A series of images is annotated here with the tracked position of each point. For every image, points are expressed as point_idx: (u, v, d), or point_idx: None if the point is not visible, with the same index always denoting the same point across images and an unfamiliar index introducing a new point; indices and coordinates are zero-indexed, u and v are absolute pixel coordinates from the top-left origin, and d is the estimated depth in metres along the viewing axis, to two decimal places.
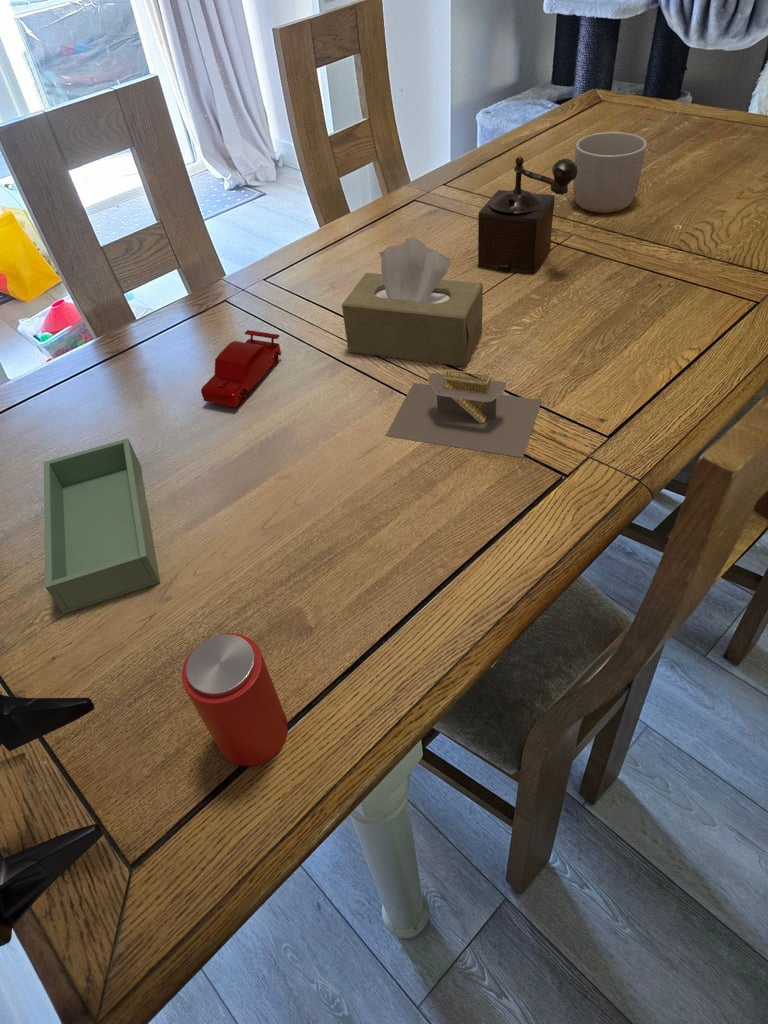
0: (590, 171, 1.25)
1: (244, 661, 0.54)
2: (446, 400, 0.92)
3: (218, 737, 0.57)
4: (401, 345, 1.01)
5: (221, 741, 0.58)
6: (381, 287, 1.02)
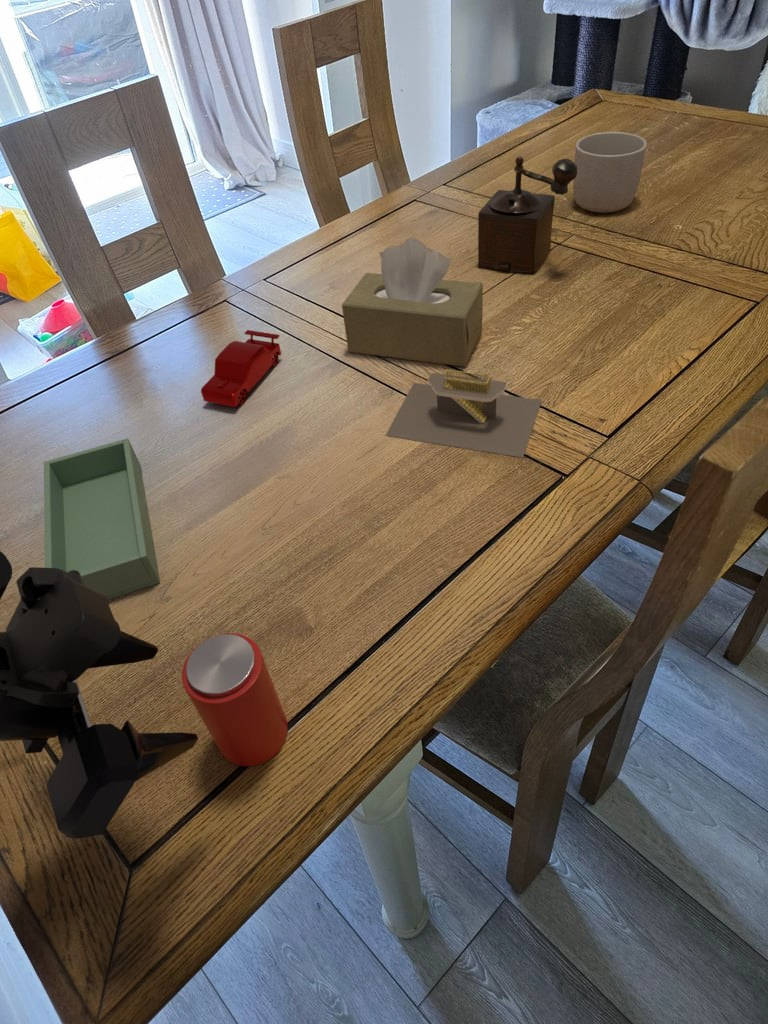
0: (590, 171, 1.25)
1: (244, 661, 0.54)
2: (446, 400, 0.92)
3: (218, 737, 0.57)
4: (401, 345, 1.01)
5: (221, 741, 0.58)
6: (381, 287, 1.02)
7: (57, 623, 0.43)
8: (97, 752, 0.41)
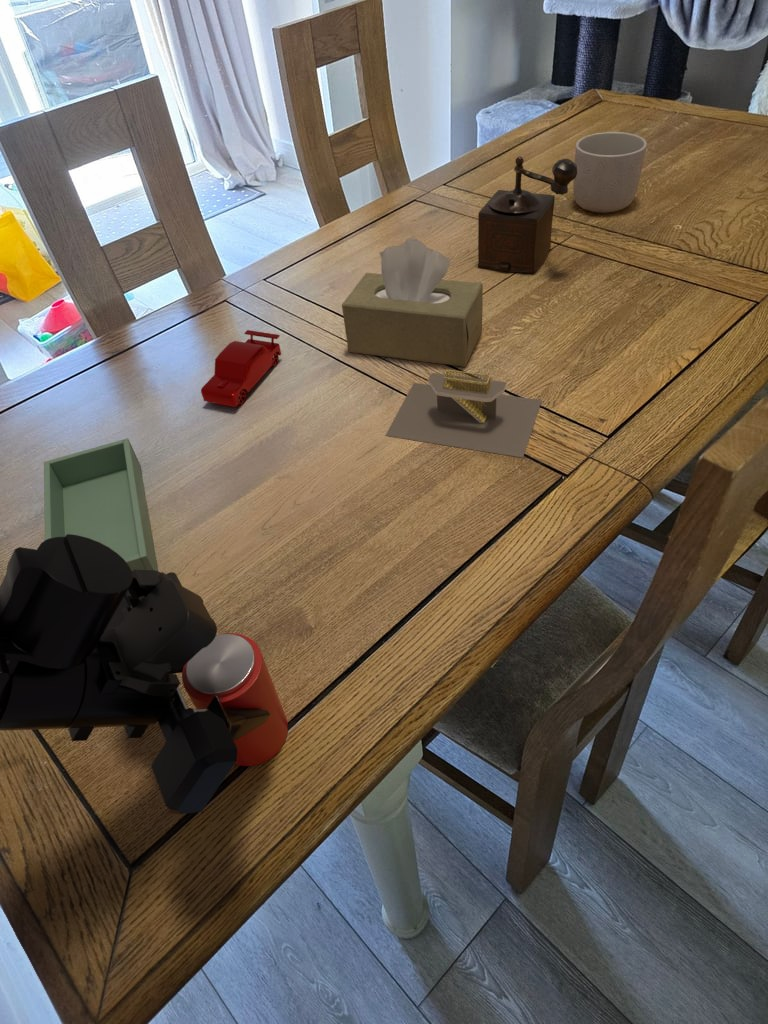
0: (590, 171, 1.25)
1: (244, 661, 0.54)
2: (446, 400, 0.92)
3: None
4: (401, 345, 1.01)
5: None
6: (381, 287, 1.02)
7: (163, 620, 0.48)
8: (202, 736, 0.46)
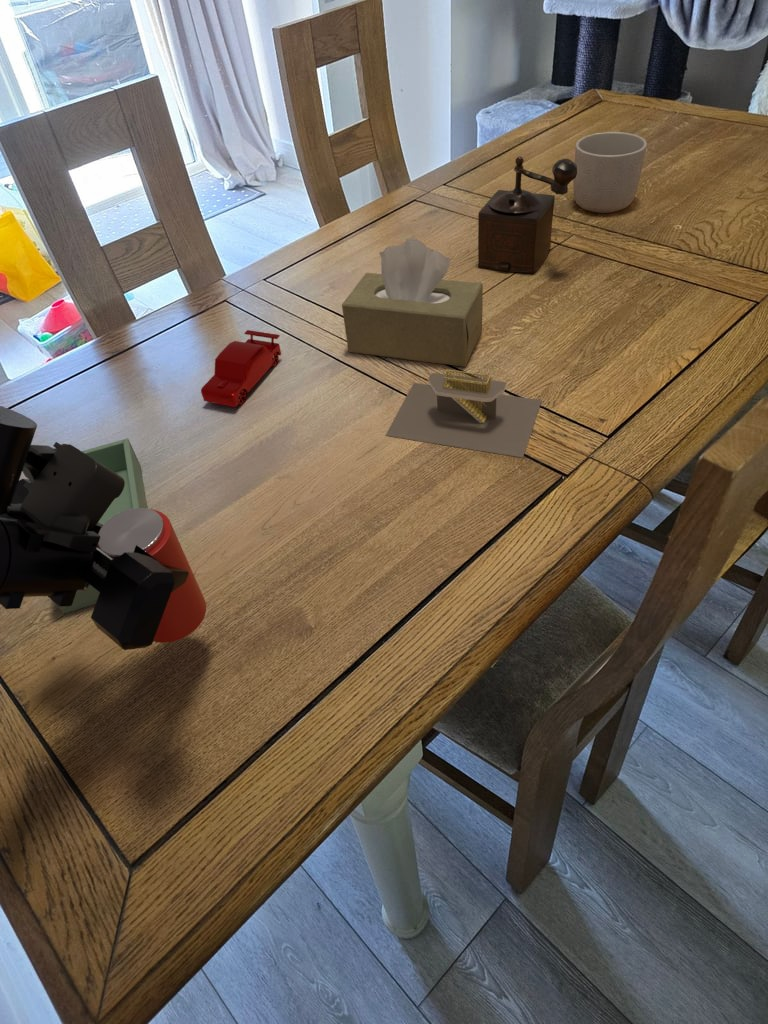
0: (590, 171, 1.25)
1: (153, 523, 0.57)
2: (446, 400, 0.92)
3: None
4: (401, 345, 1.01)
5: None
6: (381, 287, 1.02)
7: (70, 476, 0.50)
8: (137, 567, 0.49)
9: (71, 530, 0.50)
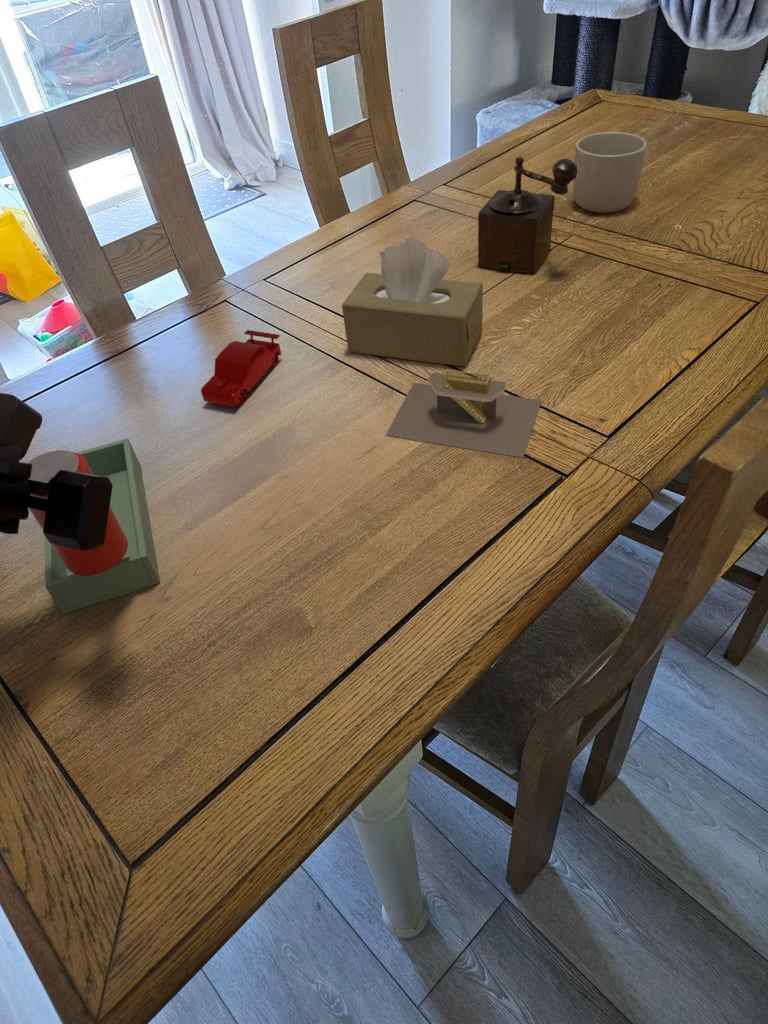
0: (590, 171, 1.25)
1: (68, 459, 0.64)
2: (446, 400, 0.92)
3: None
4: (401, 345, 1.01)
5: None
6: (381, 287, 1.02)
7: None
8: (76, 476, 0.57)
9: (7, 459, 0.56)
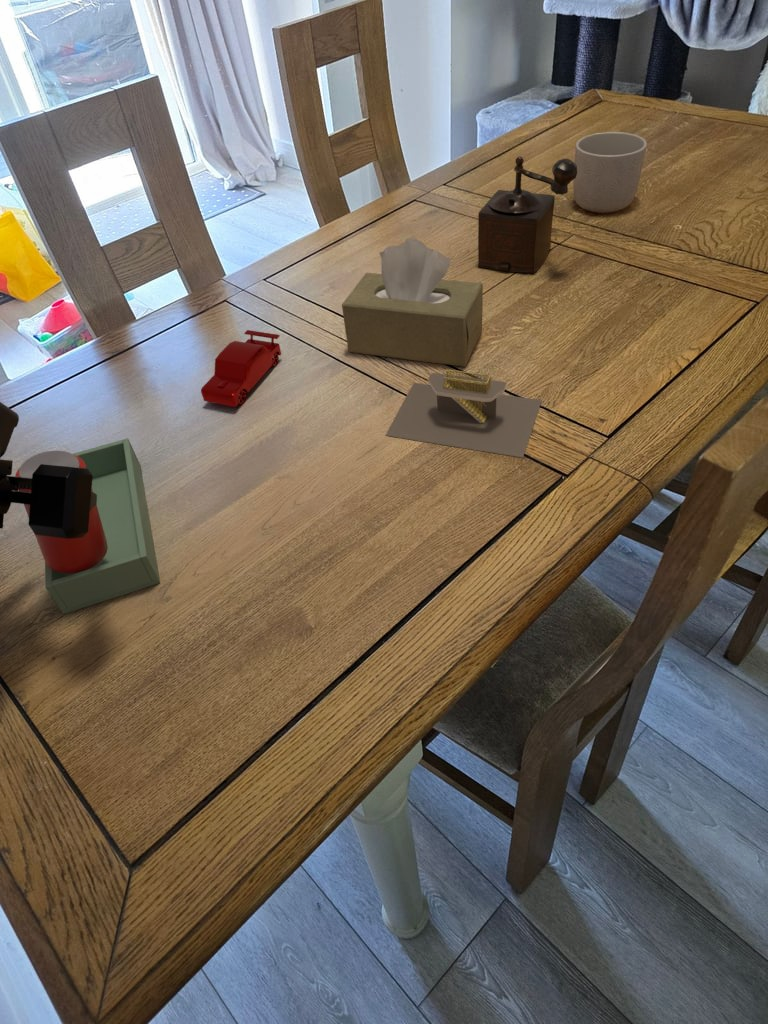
0: (590, 171, 1.25)
1: (68, 459, 0.68)
2: (446, 400, 0.92)
3: None
4: (401, 345, 1.01)
5: (69, 543, 0.70)
6: (381, 287, 1.02)
7: None
8: (58, 468, 0.60)
9: None
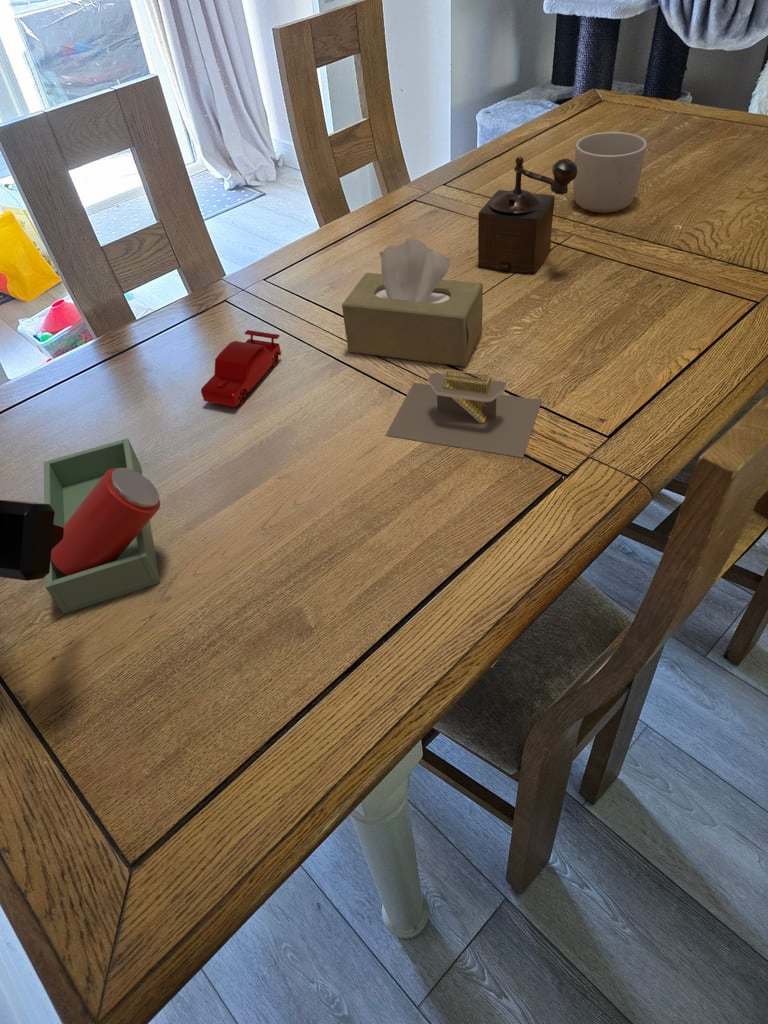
0: (590, 171, 1.25)
1: (150, 487, 0.74)
2: (446, 400, 0.92)
3: (103, 549, 0.72)
4: (401, 345, 1.01)
5: (101, 554, 0.72)
6: (381, 287, 1.02)
7: None
8: (16, 505, 0.55)
9: None
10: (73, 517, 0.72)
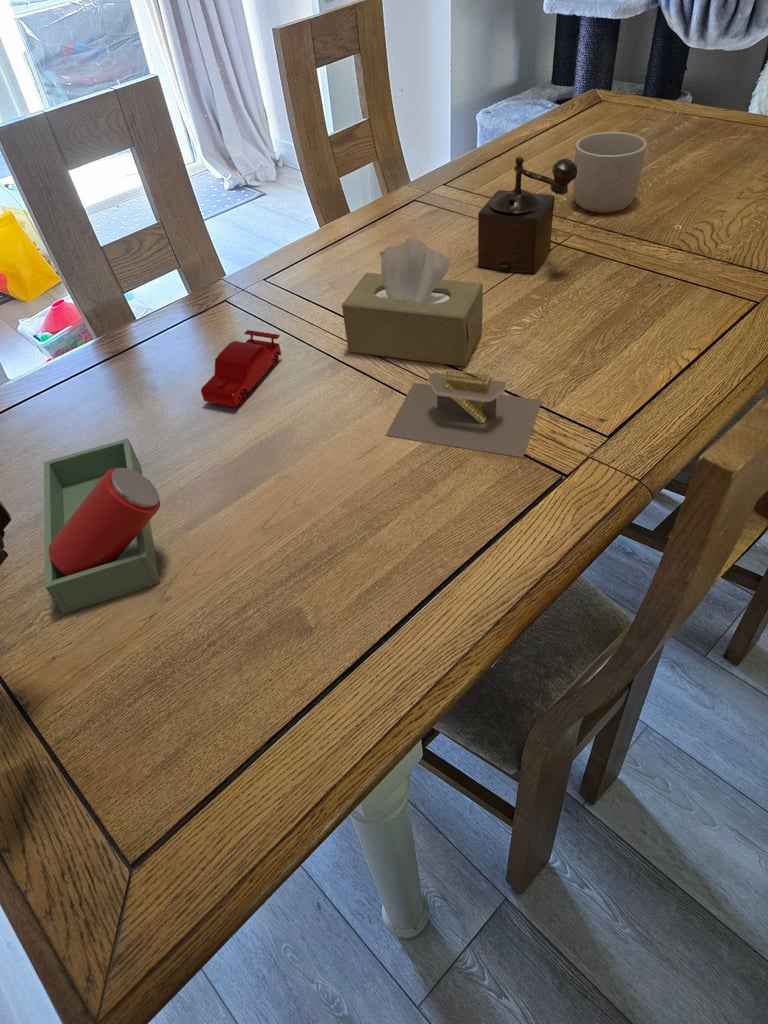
0: (590, 171, 1.25)
1: (150, 487, 0.74)
2: (446, 400, 0.92)
3: (103, 549, 0.72)
4: (401, 345, 1.01)
5: (101, 554, 0.72)
6: (381, 287, 1.02)
7: None
8: None
9: None
10: (73, 517, 0.72)
